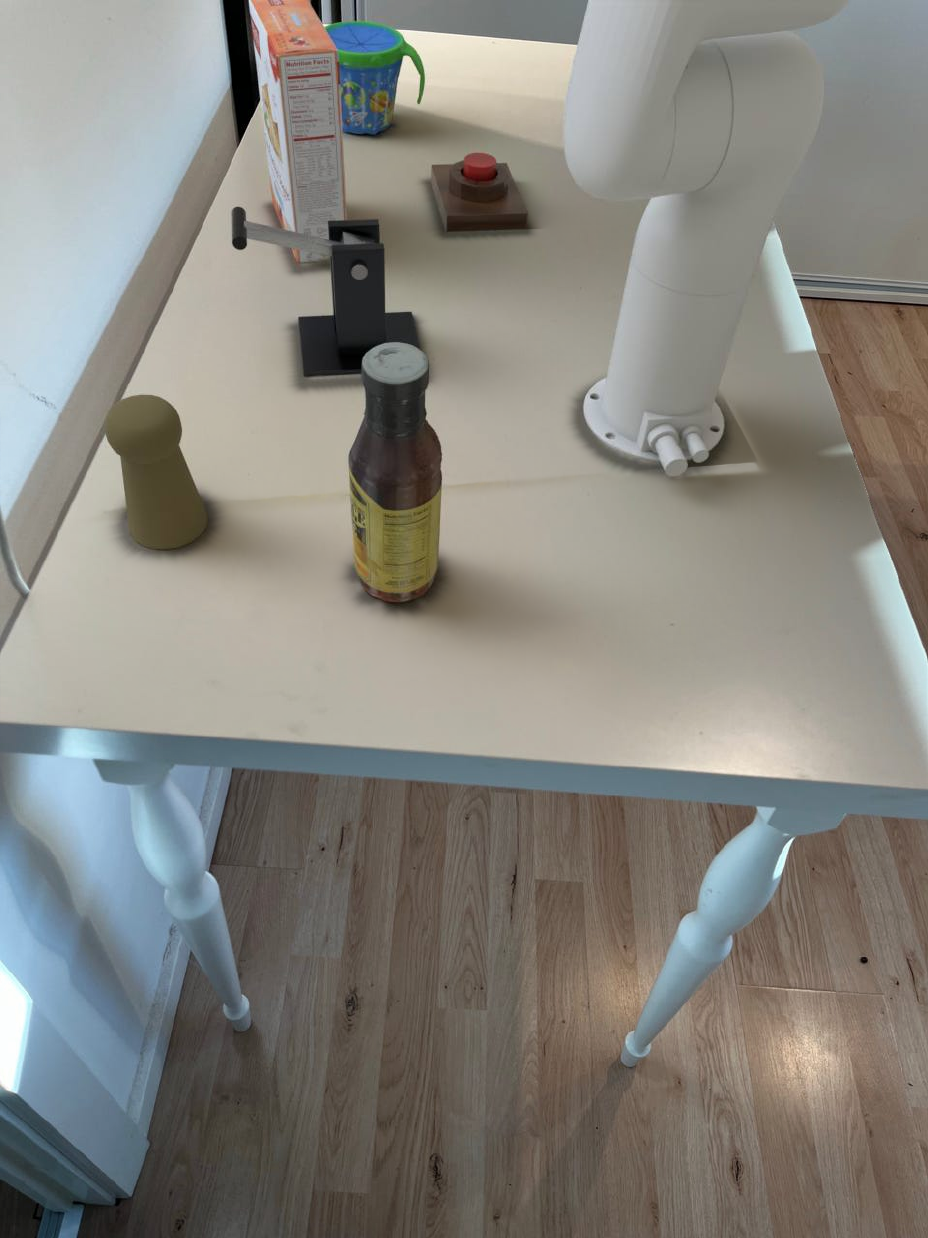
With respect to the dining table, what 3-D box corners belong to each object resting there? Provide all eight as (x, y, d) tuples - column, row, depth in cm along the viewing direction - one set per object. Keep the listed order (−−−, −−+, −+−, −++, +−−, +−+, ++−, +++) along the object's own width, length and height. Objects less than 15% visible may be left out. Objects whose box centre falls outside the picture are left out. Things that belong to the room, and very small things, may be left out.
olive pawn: (207, 492, 76) (183, 379, 68) (207, 546, 72) (182, 433, 64) (130, 498, 75) (96, 384, 67) (126, 552, 72) (89, 439, 63)
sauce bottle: (362, 543, 73) (353, 318, 58) (442, 551, 73) (453, 329, 58) (347, 606, 69) (332, 383, 54) (431, 616, 69) (441, 394, 54)
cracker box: (269, 206, 106) (245, -7, 90) (321, 201, 107) (308, -10, 91) (294, 272, 98) (273, 50, 81) (351, 265, 99) (341, 45, 83)
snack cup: (431, 115, 123) (433, 28, 115) (412, 151, 116) (413, 61, 109) (316, 99, 125) (311, 12, 117) (291, 133, 118) (283, 43, 110)
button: (497, 182, 105) (499, 166, 103) (465, 183, 104) (466, 167, 103) (491, 167, 107) (493, 151, 106) (460, 168, 106) (461, 152, 105)
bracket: (304, 384, 86) (293, 264, 77) (299, 328, 91) (287, 210, 82) (424, 377, 87) (426, 259, 78) (411, 322, 93) (412, 206, 84)
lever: (229, 255, 77) (234, 228, 76) (229, 224, 80) (233, 197, 79) (371, 285, 81) (378, 260, 80) (365, 254, 85) (372, 230, 83)
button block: (525, 232, 105) (529, 197, 102) (446, 234, 104) (447, 199, 101) (505, 180, 113) (508, 146, 110) (431, 182, 111) (431, 148, 108)
